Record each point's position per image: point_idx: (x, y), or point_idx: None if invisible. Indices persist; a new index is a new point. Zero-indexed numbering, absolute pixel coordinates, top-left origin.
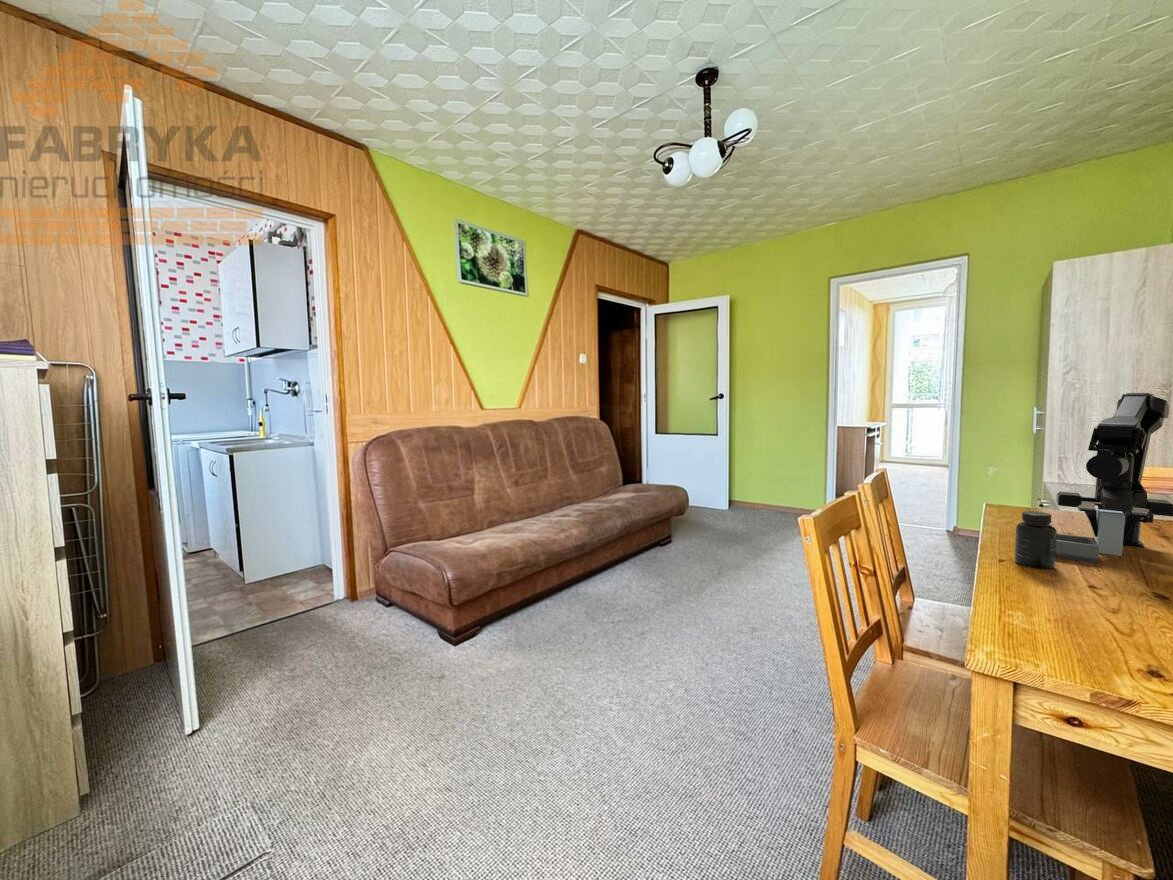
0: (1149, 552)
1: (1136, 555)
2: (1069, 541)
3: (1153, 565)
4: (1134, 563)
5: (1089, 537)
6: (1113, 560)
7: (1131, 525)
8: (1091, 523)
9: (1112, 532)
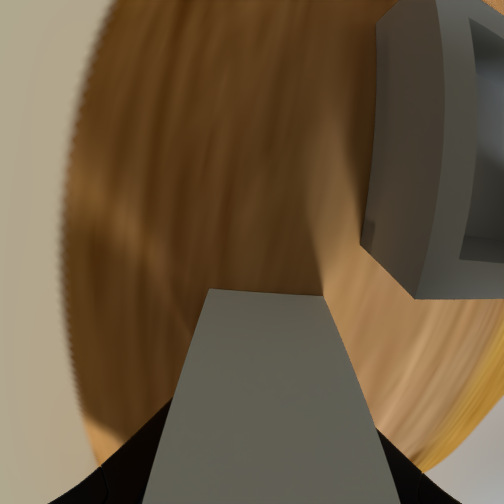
0: (108, 402)
1: (144, 339)
2: (497, 250)
3: (97, 154)
4: (176, 132)
5: (442, 289)
6: (279, 137)
7: (92, 489)
8: (422, 474)
9: (261, 417)
